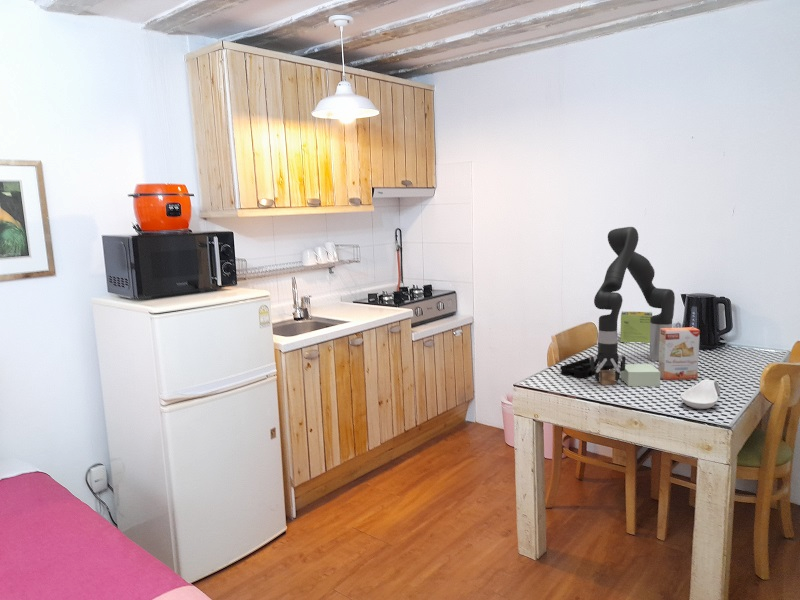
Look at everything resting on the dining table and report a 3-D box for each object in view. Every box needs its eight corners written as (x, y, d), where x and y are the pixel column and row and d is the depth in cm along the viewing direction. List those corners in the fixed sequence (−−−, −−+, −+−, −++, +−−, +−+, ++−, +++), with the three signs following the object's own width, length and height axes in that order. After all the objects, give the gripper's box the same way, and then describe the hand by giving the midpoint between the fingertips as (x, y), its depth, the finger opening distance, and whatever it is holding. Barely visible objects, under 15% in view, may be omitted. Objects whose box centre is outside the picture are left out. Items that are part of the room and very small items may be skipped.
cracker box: (664, 380, 233) (665, 330, 230) (657, 376, 239) (659, 327, 236) (698, 379, 233) (700, 329, 230) (691, 375, 239) (693, 326, 236)
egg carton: (557, 376, 247) (557, 367, 247) (583, 361, 270) (583, 353, 270) (597, 382, 236) (597, 373, 236) (621, 366, 259) (621, 358, 259)
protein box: (651, 344, 296) (652, 315, 294) (620, 343, 302) (620, 314, 300) (651, 340, 306) (652, 311, 303) (620, 338, 312) (621, 311, 309)
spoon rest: (712, 415, 194) (713, 394, 193) (675, 408, 202) (676, 388, 201) (730, 397, 211) (730, 378, 210) (695, 391, 219) (696, 373, 218)
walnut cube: (611, 381, 235) (612, 369, 234) (615, 385, 230) (615, 373, 229) (599, 381, 236) (599, 370, 235) (602, 385, 231) (602, 373, 230)
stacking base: (650, 378, 238) (650, 364, 237) (659, 386, 226) (660, 371, 225) (620, 378, 239) (620, 364, 238) (628, 386, 227) (628, 372, 226)
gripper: (623, 338, 233) (622, 378, 236) (587, 339, 235) (587, 378, 237) (628, 342, 226) (628, 383, 228) (591, 343, 228) (591, 383, 230)
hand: (607, 380), depth 233 cm, fingers open, 7 cm apart
